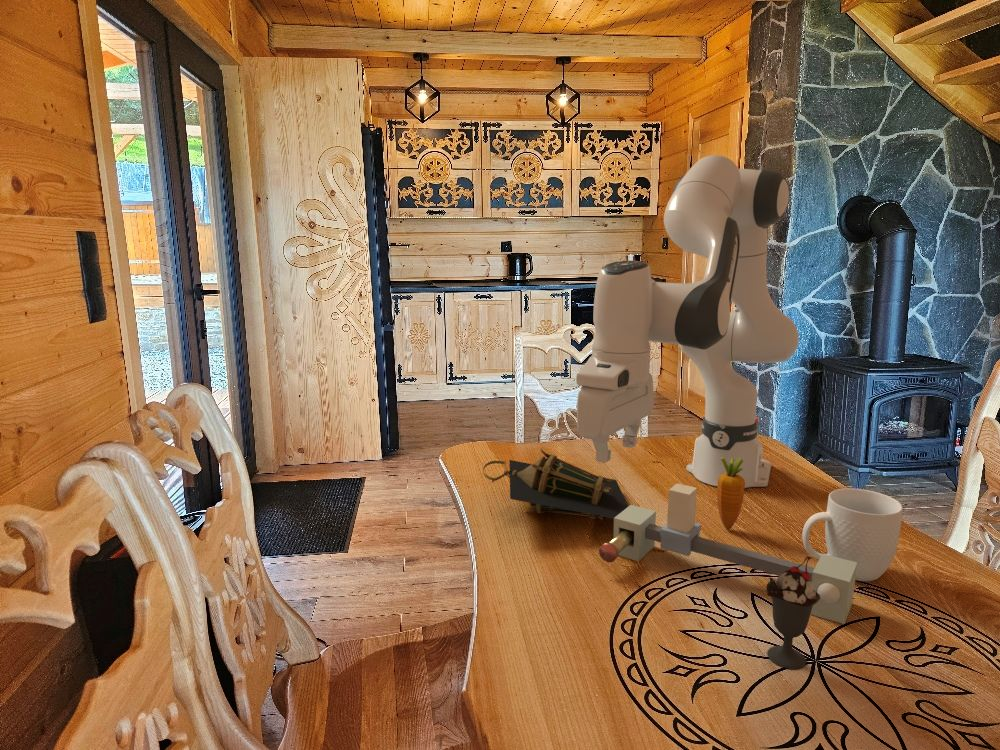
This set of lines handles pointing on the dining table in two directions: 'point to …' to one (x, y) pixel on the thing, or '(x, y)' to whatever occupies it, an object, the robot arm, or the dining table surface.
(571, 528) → the dining table surface
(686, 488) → the carriage
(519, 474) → the lantern
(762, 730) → the dining table surface
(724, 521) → the carrot
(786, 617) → the sundae
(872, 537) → the mug
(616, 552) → the cylinder
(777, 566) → the guide rail
